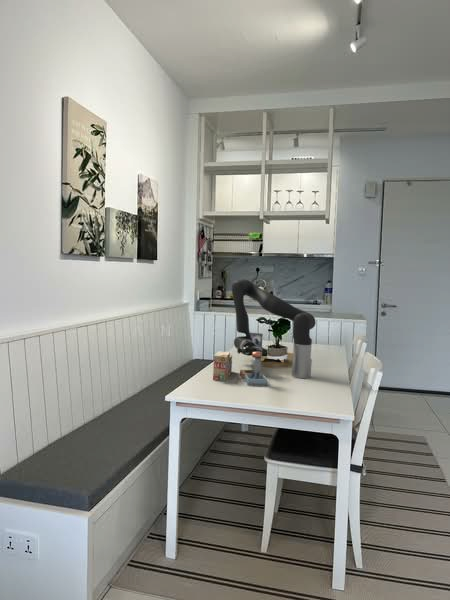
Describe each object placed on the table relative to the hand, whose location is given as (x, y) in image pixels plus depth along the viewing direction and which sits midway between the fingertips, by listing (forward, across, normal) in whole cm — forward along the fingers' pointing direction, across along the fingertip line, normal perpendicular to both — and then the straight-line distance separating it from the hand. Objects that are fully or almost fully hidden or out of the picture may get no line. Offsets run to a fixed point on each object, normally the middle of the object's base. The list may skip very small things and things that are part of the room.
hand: (253, 352), depth 240 cm
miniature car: (-45, +19, +13) cm, 50 cm away
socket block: (0, -1, +13) cm, 13 cm away
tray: (+11, 0, +13) cm, 17 cm away
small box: (-83, +16, +12) cm, 85 cm away
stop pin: (+11, 0, +12) cm, 16 cm away
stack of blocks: (-3, -15, +13) cm, 20 cm away
